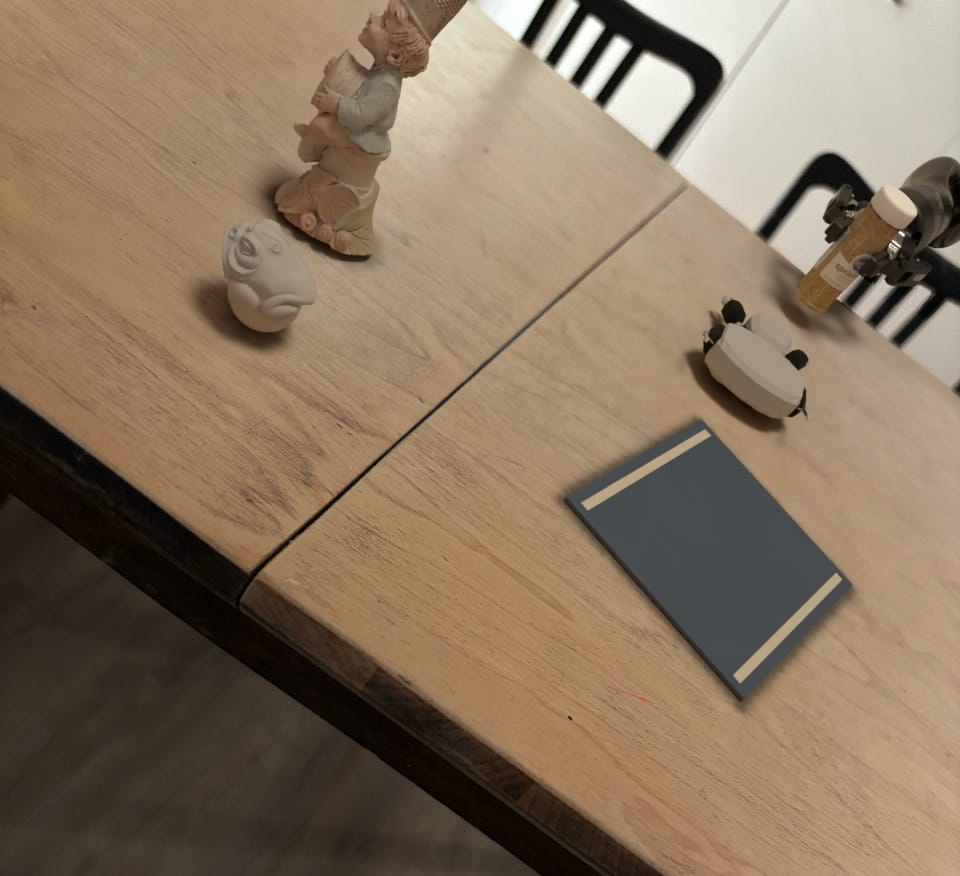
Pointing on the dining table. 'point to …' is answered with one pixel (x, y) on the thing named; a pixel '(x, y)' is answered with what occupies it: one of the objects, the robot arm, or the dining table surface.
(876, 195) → the sprinkles bottle
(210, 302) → the dining table surface
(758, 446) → the dining table surface
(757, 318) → the robot toy
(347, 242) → the figurine
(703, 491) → the napkin
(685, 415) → the dining table surface
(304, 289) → the frog figurine
